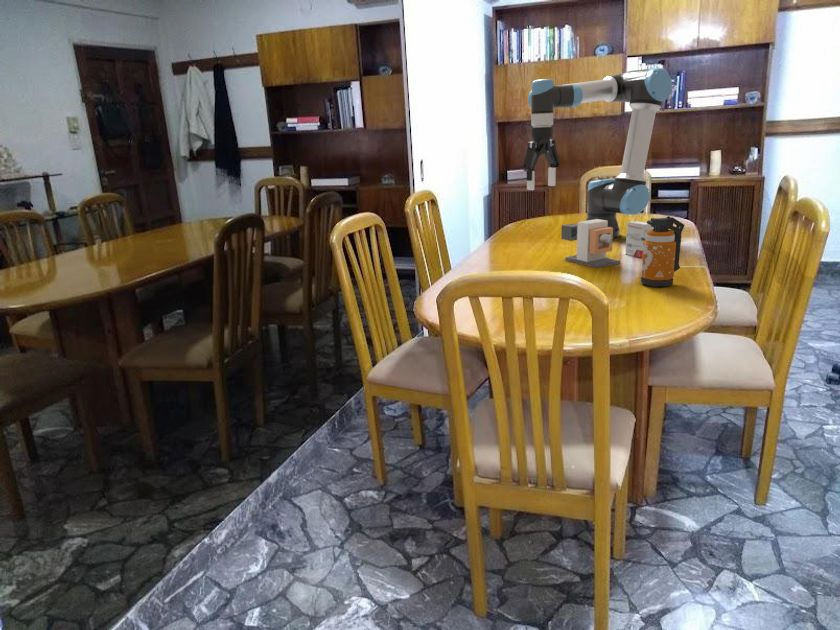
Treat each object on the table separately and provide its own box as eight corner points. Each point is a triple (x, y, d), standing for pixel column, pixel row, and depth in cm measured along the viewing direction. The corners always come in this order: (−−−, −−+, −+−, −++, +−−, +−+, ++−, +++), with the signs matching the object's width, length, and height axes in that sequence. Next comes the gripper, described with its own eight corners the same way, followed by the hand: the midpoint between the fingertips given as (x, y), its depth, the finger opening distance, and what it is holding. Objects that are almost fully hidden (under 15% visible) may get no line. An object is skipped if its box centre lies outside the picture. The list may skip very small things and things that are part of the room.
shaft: (561, 239, 222) (561, 225, 220) (571, 237, 224) (572, 223, 222) (603, 247, 205) (604, 232, 203) (614, 245, 207) (615, 230, 205)
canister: (635, 281, 187) (639, 215, 181) (670, 279, 188) (676, 213, 182) (648, 289, 178) (653, 220, 172) (685, 286, 179) (691, 217, 173)
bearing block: (565, 260, 218) (566, 220, 214) (586, 255, 223) (587, 217, 219) (598, 268, 205) (600, 226, 201) (620, 263, 210) (622, 222, 205)
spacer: (589, 253, 209) (590, 229, 206) (606, 249, 212) (607, 226, 210) (594, 254, 207) (595, 230, 204) (611, 251, 210) (613, 227, 208)
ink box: (652, 256, 217) (655, 223, 214) (642, 258, 215) (644, 224, 212) (635, 252, 225) (637, 220, 221) (624, 254, 223) (626, 221, 219)
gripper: (552, 125, 227) (551, 183, 233) (512, 128, 210) (512, 191, 216) (570, 124, 222) (568, 184, 228) (530, 127, 205) (530, 192, 211)
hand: (541, 188), depth 222 cm, fingers open, 13 cm apart
